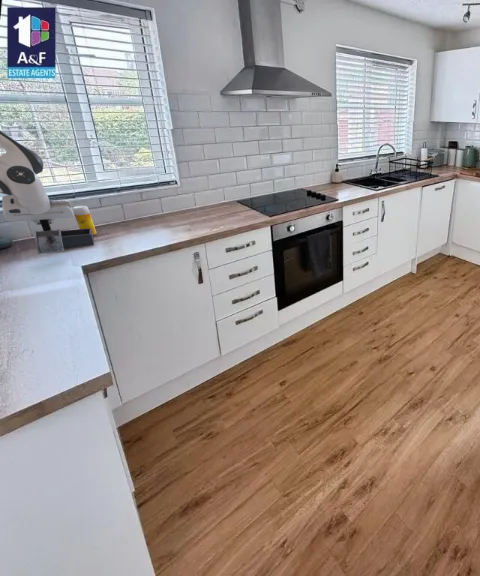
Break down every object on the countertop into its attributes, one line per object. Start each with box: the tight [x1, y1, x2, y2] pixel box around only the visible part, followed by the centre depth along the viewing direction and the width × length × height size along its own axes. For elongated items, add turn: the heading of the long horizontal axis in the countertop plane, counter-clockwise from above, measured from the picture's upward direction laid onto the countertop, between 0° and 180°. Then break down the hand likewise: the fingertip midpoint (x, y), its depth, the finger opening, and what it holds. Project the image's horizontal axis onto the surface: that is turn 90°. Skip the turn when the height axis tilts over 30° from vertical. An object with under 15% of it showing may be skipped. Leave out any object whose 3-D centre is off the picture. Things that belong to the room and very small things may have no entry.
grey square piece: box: [33, 219, 65, 255], centre depth 147 cm, size 13×8×9 cm
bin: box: [60, 228, 95, 250], centre depth 169 cm, size 13×13×6 cm
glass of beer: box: [72, 205, 97, 236], centre depth 183 cm, size 6×6×15 cm
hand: (44, 222), depth 149 cm, fingers closed on grey square piece, 2 cm apart
